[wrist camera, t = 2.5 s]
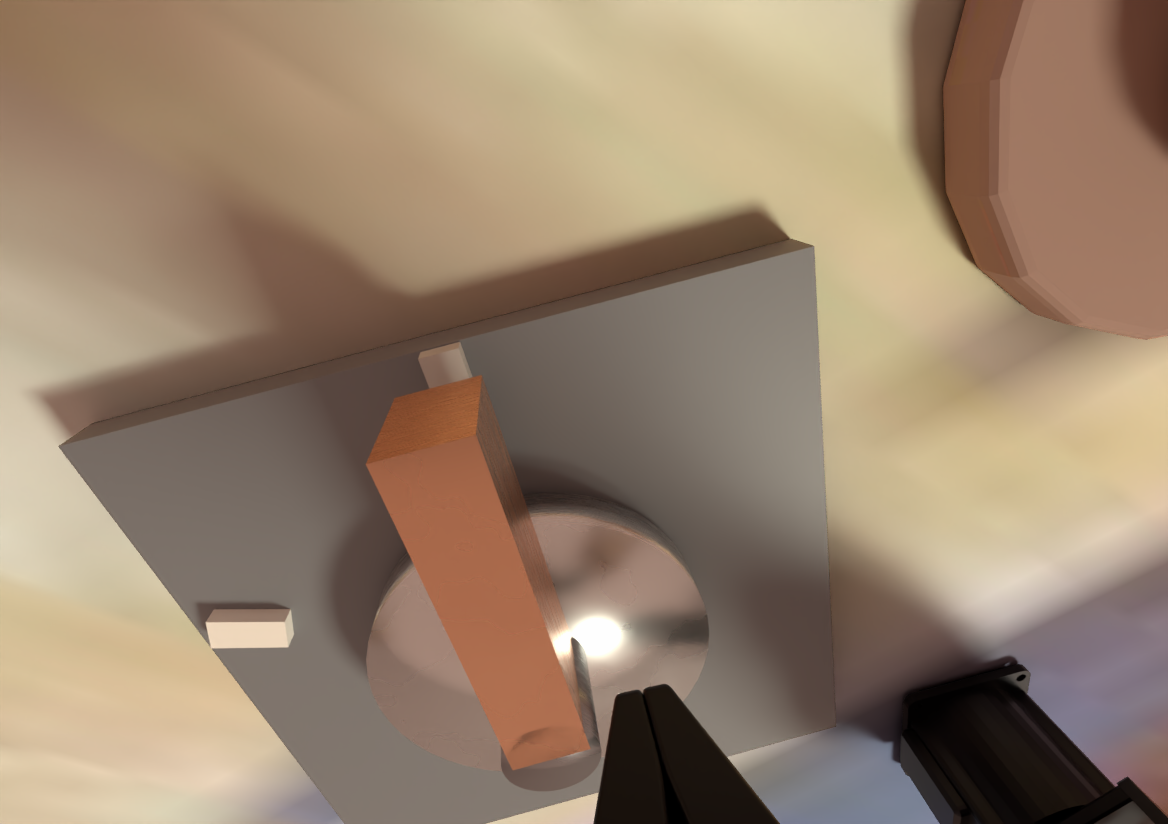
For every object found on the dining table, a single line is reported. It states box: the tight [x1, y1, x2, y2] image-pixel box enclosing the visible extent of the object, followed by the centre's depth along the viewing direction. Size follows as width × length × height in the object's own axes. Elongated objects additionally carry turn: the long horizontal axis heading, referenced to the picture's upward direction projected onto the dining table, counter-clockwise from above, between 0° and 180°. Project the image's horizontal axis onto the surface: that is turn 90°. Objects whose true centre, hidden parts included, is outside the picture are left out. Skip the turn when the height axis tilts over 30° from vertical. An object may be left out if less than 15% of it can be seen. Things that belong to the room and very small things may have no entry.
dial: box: [366, 375, 709, 791], centre depth 18 cm, size 17×12×5 cm
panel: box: [59, 239, 836, 824], centre depth 22 cm, size 23×23×2 cm
